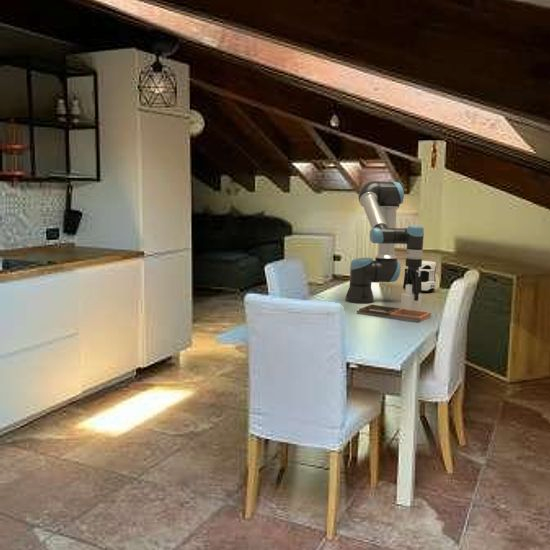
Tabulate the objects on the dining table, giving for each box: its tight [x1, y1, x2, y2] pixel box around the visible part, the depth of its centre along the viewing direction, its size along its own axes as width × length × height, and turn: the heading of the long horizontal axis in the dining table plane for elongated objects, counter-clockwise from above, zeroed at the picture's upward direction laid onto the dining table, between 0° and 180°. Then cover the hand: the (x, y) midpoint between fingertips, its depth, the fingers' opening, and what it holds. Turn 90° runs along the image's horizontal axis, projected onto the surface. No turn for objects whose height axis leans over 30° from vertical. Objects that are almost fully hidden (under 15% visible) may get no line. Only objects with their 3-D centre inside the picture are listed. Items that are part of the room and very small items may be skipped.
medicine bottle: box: [400, 284, 423, 311], centre depth 290 cm, size 7×7×12 cm
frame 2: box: [390, 308, 432, 323], centre depth 292 cm, size 15×15×2 cm
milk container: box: [412, 260, 437, 293], centre depth 369 cm, size 17×17×18 cm
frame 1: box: [358, 304, 400, 315], centre depth 300 cm, size 15×15×2 cm
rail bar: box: [356, 310, 421, 323], centre depth 288 cm, size 2×31×1 cm, turn 58°
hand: (411, 305), depth 291 cm, fingers closed on medicine bottle, 8 cm apart
